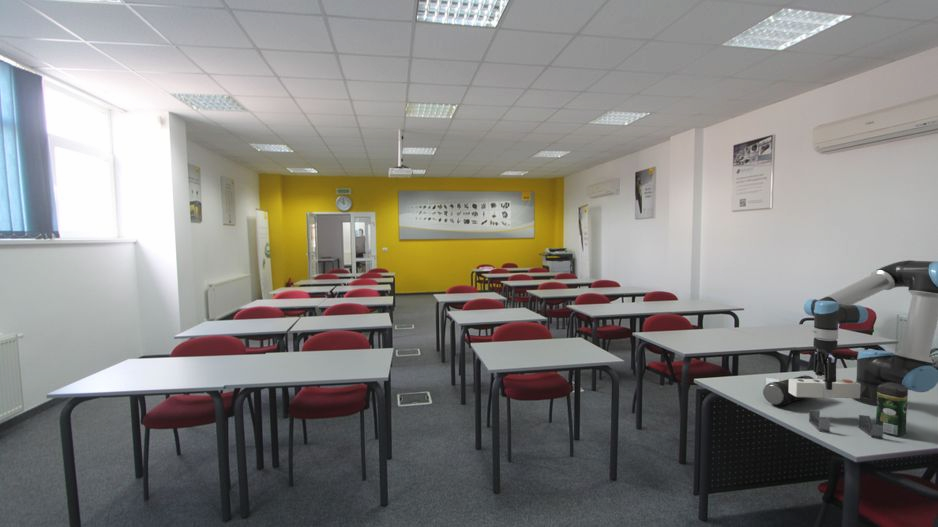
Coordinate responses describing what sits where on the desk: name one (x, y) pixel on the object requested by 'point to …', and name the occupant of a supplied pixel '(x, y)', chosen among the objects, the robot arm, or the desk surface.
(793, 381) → the socket bar
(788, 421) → the desk surface
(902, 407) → the coffee jar
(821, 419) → the bracket far
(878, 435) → the bracket near
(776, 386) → the muzzle brake
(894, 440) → the desk surface
